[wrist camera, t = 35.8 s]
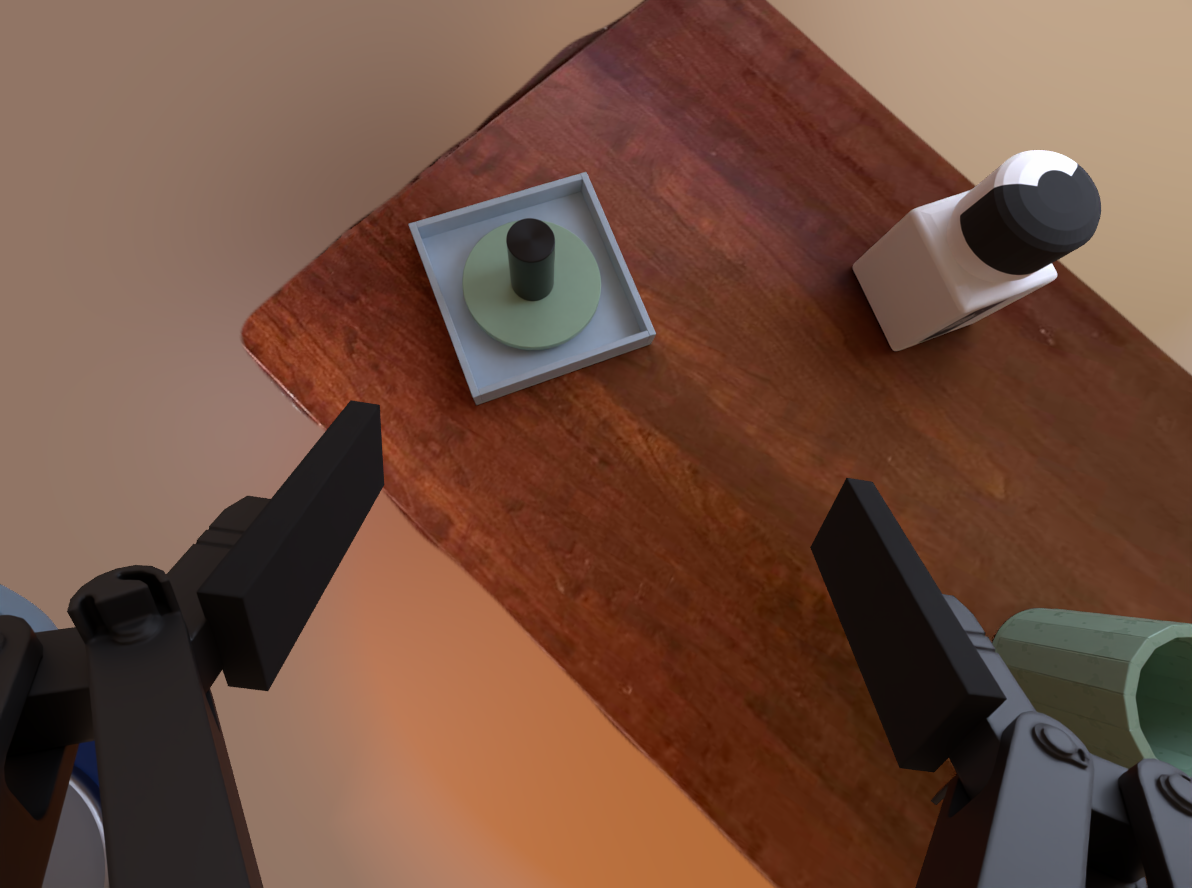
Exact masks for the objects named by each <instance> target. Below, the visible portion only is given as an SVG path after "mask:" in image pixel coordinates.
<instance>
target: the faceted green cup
mask: <svg viewBox="0 0 1192 888" xmlns="http://www.w3.org/2000/svg"><path fill="white" fill-rule="evenodd" d="M992 644H993V646H994V647H995V652H996V653H999V655H1000V657H1001V658H1002V660H1003V661H1004V663H1005V664H1006V666H1007V667H1008V669H1009V670H1010V672H1011V673H1012V675H1013V676H1014V678H1015V679H1016V681H1017V683H1018V684H1019V686H1020V687H1021V689H1022V690H1023V692H1024V693H1025V695H1026V696H1027V698H1028V699H1029V701H1030V702H1031V704H1032V705H1033V707H1034V708H1035V710H1036V711H1037V712H1039V713H1043V714H1046V715H1048V716H1050V717H1052V718H1053V719H1055V720H1057V721H1059V722H1060V723H1062V724H1063V725H1064V726H1066V727H1067V728H1068V729H1070V730H1071V731H1072V732H1073V733H1074V734H1075V735H1076V736H1077V737H1078V738H1079V739H1080V740H1081V741H1082V743H1083V744H1084V745H1085V746H1086V748H1087V750H1088V751H1089V753H1091V754H1093V755H1096V756H1098V757H1101V758H1103V759H1105V760H1108V761H1110V762H1113V763H1115V764H1118V765H1120V766H1122V767H1125V768H1127V769H1130V768H1131V767H1132V766H1134V765H1135V764H1137V763H1138V762H1139V761H1141V760H1142V759H1146V758H1155V759H1158V760H1160V761H1163V762H1166V763H1169V764H1171V765H1172V766H1174V767H1176V768H1178V769H1179V770H1181V771H1183V772H1184V773H1186V774H1187V775H1188V776H1190V777H1191V778H1192V624H1188V623H1179V622H1170V621H1161V620H1152V619H1143V618H1134V617H1125V616H1116V615H1107V614H1098V613H1089V612H1080V611H1071V610H1062V609H1045V608H1035V609H1029V610H1025V611H1022V612H1020V613H1018V614H1016V615H1014V616H1012V617H1011V618H1010V619H1009V620H1007V621H1006V622H1005V623H1004V624H1003V625H1002V627H1001V628H1000V629H999V631H998V632H997V634H996V636H995V638H994V640H993V643H992Z"/></svg>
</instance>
